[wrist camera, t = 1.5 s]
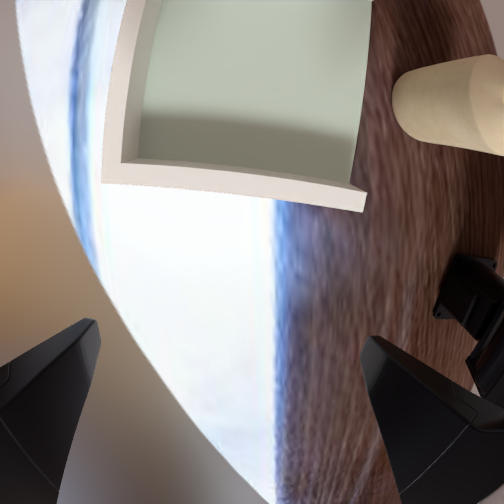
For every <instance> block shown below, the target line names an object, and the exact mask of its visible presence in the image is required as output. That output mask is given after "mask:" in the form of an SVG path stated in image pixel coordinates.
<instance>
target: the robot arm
mask: <svg viewBox="0 0 504 504" xmlns="http://www.w3.org/2000/svg"><path fill="white" fill-rule="evenodd" d="M458 259H459V260H458ZM496 267H497V261H495V260H494V259H490V258H484V257H478V256H472V255H466V254H460V253H458V254H456V255H455V256H454V259H453V262H452V265H451V268H450V270H449V273H448V276H447V279H446V281H445V284H444V287H443V289H442V292H441V294H440V297H439V299H438V302H437V304H436V307H435V309H434V312H433V316H434V317H435V318H436V319H456V320H457V321H458V322H459V323H460V324H461V325H462V326H463V327H464V328H465V329H466V330H467V331H468V332H469V334H470V335H471V336H472V337H473V338H474V339H475V340H476V341H477V342H478V343H477V345H476V347H475V348H474V350H473V351H472V353H471V354H470V356H468V357H467V359H466V360H465V362H466V364H467V366H468V369H469V371H470V373H471V375H472V378H473V380H474V382H475V384H476V386H477V389H478V392H479V394H480V396H481V397H479V396H477V395H475V394H473V393H472V392H470V391H468V390H466V389H465V388H463V387H461V386H460V385H458V384H457V383H455V382H452V381H451V380H450V379H448V378H447V377H445V376H444V375H442V374H440V373H439V372H437V371H435V370H434V369H432V368H431V367H429V366H427V365H426V364H424V363H423V362H421V361H419V360H418V359H416V358H415V357H413V356H411V355H410V354H408V353H406V352H405V351H403V350H402V349H400V348H398V347H397V346H395V345H394V344H392V343H390V342H389V341H387V340H386V339H384V338H382V337H381V336H369V337H368V338H367V339H366V341H365V344H364V347H363V349H362V351H361V354H360V362H361V366H362V370H363V375H364V379H365V383H366V388H367V392H368V396H369V399H370V402H371V405H372V408H373V411H374V414H375V417H376V420H377V423H378V426H379V429H380V432H381V435H382V438H383V441H384V445H385V448H386V451H387V454H388V457H389V461H390V464H391V467H392V471H393V474H394V478H395V481H396V485H397V488H398V492H399V494H400V495H399V496H400V500H401V503H402V504H504V279H503V278H502V277H500V276H499V275H498V274H496V273H495V269H496ZM100 346H101V338H100V333H99V327H98V323H97V321H96V320H95V319H90V318H84V319H82V320H80V321H79V322H77V323H75V324H74V325H71V326H70V327H68V328H66V329H64V330H63V331H61V332H60V333H58V334H56V335H54V336H52V337H51V338H49V339H47V340H46V341H44V342H42V343H40V344H39V345H37V346H35V347H34V348H32V349H30V350H29V351H27V352H25V353H23V354H22V355H20V356H19V357H17V358H15V359H13V360H12V361H10V363H9V362H8V363H7V364H5V365H3V366H2V367H0V504H56V503H57V499H58V494H59V489H60V485H61V481H62V477H63V473H64V469H65V465H66V462H67V458H68V455H69V451H70V448H71V444H72V441H73V437H74V434H75V431H76V428H77V425H78V421H79V418H80V415H81V412H82V409H83V406H84V403H85V400H86V398H87V395H88V392H89V389H90V386H91V382H92V379H93V374H94V370H95V366H96V362H97V358H98V354H99V350H100Z"/></svg>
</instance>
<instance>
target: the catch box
mask: <svg viewBox="0 0 504 504" xmlns="http://www.w3.org/2000/svg"><path fill="white" fill-rule="evenodd" d="M372 1H373V0H127V2H126V6H125V10H124V14H123V18H122V22H121V26H120V30H119V35H118V39H117V44H116V49H115V54H114V60H113V65H112V71H111V77H110V84H109V91H108V99H107V107H106V116H105V126H104V138H103V152H102V174H101V183H108V184H125V185H140V186H154V187H166V188H178V189H189V190H199V191H209V192H219V193H228V194H237V195H245V196H254V197H262V198H270V199H277V200H285V201H292V202H299V203H306V204H313V205H319V206H326V207H332V208H339V209H345V210H351V211H357V212H363V209H364V204H365V200H366V195H367V193H366V192H364V191H363V190H361V189H359V188H357V187H355V186H353V185H351V184H349V181H350V175H351V170H352V165H353V159H354V153H355V147H356V141H357V135H358V129H359V122H360V115H361V108H362V101H363V93H364V85H365V77H366V68H367V58H368V48H369V36H370V22H371V5H372Z"/></svg>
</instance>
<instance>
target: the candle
mask: <svg viewBox="0 0 504 504" xmlns="http://www.w3.org/2000/svg"><path fill="white" fill-rule="evenodd" d="M392 108H393V112H394V115H395V118H396V120H397V122H398V123H399V125H400V126H401V128H402V129H403V130H404V131H405V132H406V133H407V134H408V135H410V136H411V137H413V138H415V139H417V140H419V141H423V142H429V143H435V144H442V145H448V146H455V147H460V148H466V149H471V150H476V151H481V152H486V153H491V154H496V155H500V156H504V60H503V59H501V58H499V57H497V56H495V55H489V54H487V55H481V56H475V57H469V58H464V59H459V60H454V61H449V62H444V63H440V64H435V65H431V66H427V67H423V68H419V69H415V70H412V71H409V72H407V73H405V74H403V75H402V76H401V77H400V78H399V79H398V80H397V81H396V83H395V85H394V87H393V91H392Z"/></svg>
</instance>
